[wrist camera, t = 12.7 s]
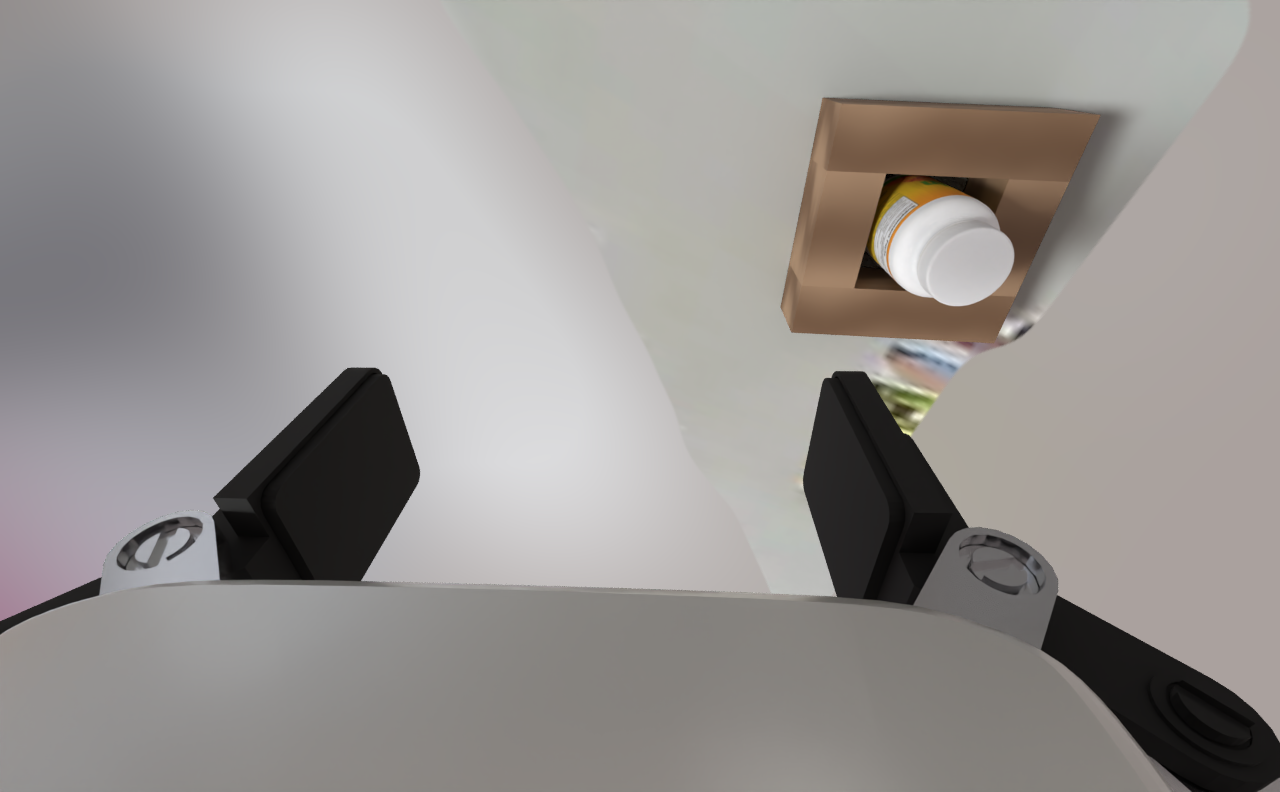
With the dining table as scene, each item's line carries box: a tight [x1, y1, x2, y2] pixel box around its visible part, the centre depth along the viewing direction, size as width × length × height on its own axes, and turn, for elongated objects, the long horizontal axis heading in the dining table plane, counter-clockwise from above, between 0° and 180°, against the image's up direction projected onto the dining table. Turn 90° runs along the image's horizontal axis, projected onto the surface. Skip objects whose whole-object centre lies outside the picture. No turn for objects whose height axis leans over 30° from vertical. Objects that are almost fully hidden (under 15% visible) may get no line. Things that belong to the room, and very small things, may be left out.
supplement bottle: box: [865, 174, 1014, 306], centre depth 29 cm, size 5×5×10 cm
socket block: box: [781, 98, 1101, 343], centre depth 32 cm, size 13×13×4 cm
